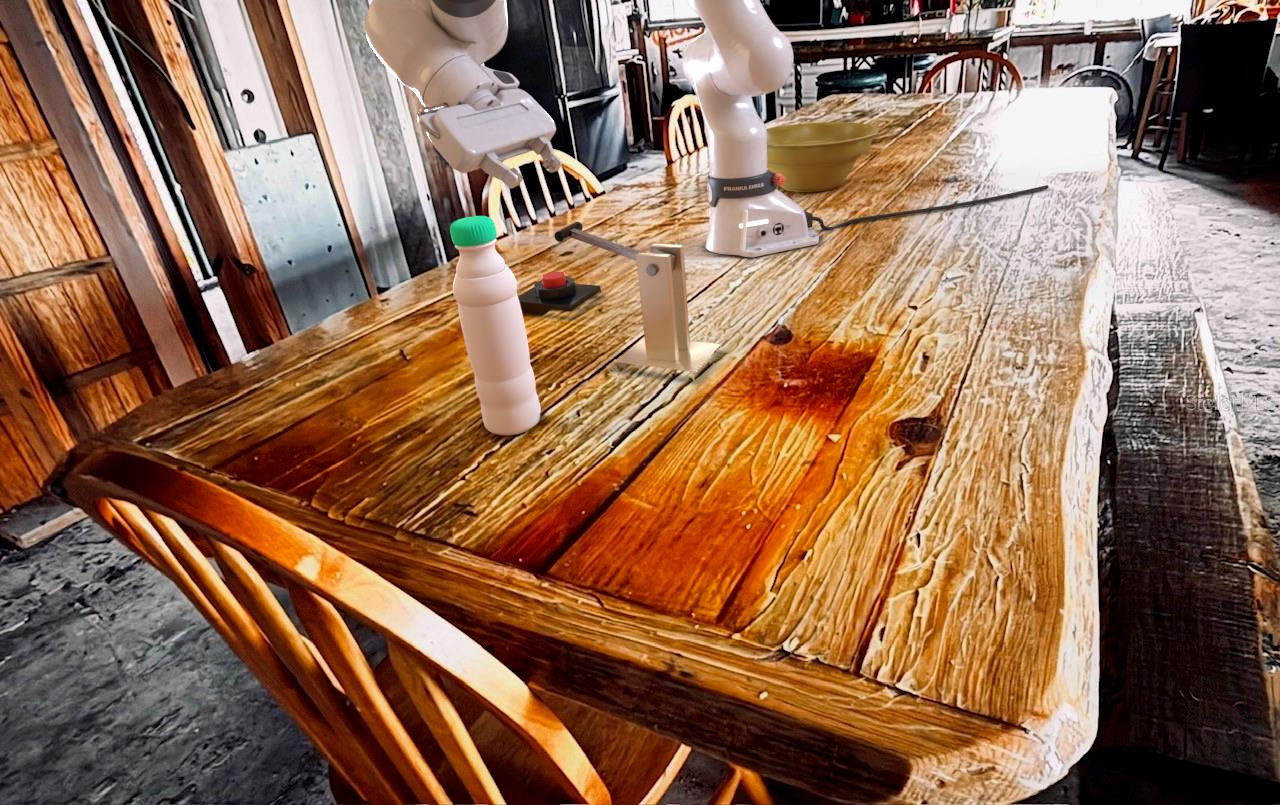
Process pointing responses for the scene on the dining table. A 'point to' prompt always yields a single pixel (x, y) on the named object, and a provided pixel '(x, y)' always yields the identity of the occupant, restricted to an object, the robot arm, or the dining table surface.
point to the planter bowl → (816, 153)
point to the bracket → (665, 315)
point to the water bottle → (493, 329)
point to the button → (553, 279)
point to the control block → (556, 297)
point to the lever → (601, 242)
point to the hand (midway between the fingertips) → (538, 176)
